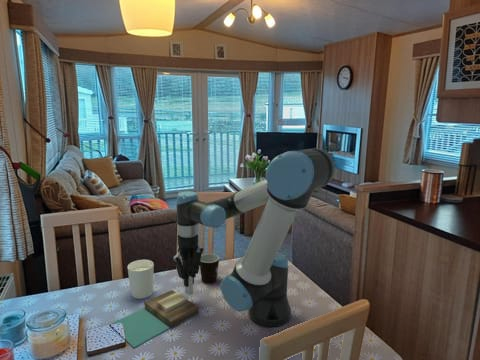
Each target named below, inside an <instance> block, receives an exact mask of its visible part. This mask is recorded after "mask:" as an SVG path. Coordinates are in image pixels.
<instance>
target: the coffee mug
mask: <svg viewBox="0 0 480 360" xmlns="http://www.w3.org/2000/svg"><path fill="white" fill-rule="evenodd" d="M219 263H220V256H219V255H217V254H214V253H205V254H201V260H200V266H199V270H200V279H201V281H202V283H203V284H206V285H208V284H214V283H216V282H217V280H218V273H219V272H218V271H219Z"/></svg>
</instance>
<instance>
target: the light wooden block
mask: <svg viewBox="0 0 480 360" xmlns="http://www.w3.org/2000/svg"><path fill="white" fill-rule="evenodd" d="M187 300H188V298H187V297H186V296H185V295H183V294H181V293H180V292H177V291H176V293H174V294H172V295H170V296H168V297H166V298H164V299H162V300H160V301H158V302H157V306H158V307H160V308H161V309H163V310H164V311H165V312H169V311H171V310H173V309H175V308H177V307H179V306H181V305H182V304H184V303H186V302H187Z"/></svg>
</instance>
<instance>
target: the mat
mask: <svg viewBox="0 0 480 360" xmlns="http://www.w3.org/2000/svg"><path fill="white" fill-rule="evenodd" d="M117 323H121V324H123V326H124V329H125V337H126V340H125V342H127V344H129V345H130V346H131V347H132V348H134V349H136V348H137V347H139V346H141V345H143V344H144V343H146V342H148V341H150V340H151V339H154V338H155V337H157V336H159V335H160V334H163V333H164V332H166V331H168V330H169V329H171V328H170V327H169V326H168V325H166V324H165V323H164V322H162V321H161V320H159V319H158V318H157V317H155V316H154V315H153V314H151V313H150V312H149V311H147V310H146V309H145V307H144V308H140V309H139V310H137V311H135V312H132V313H131V314H128V315H126V316H124V317H122V318H119V319H117V320H115V321H113V322H111V323H110V324H108V325H111V324H117Z"/></svg>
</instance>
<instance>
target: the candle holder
mask: <svg viewBox="0 0 480 360" xmlns="http://www.w3.org/2000/svg"><path fill="white" fill-rule="evenodd" d="M154 269H155V268H154V262H153V261H152V260H150V259H138V260H134V261H132V262H130V263H128V265H127V273H128V281H129V287H130V288H129V289H130V295H131V296H132V298H134V299H138V300H141V299H142V300H143V299H146V298H148V297H150V296H151V295H153V293H154Z"/></svg>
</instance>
